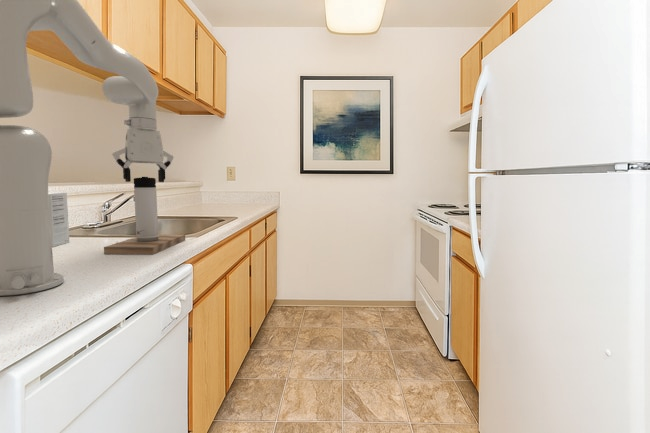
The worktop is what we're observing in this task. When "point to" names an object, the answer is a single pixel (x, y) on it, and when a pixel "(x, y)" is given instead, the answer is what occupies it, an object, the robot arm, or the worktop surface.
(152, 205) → the travel mug
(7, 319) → the worktop surface
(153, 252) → the walnut board
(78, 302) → the worktop surface
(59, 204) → the supplement box
